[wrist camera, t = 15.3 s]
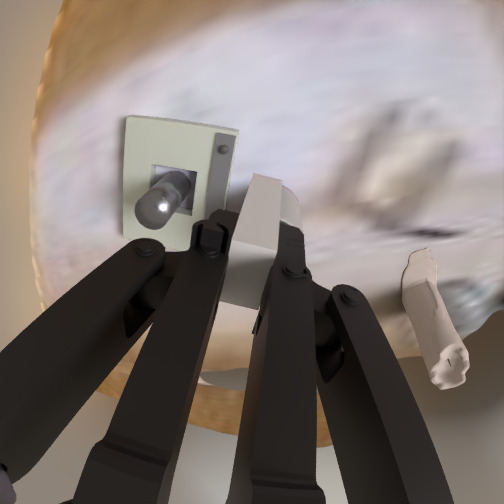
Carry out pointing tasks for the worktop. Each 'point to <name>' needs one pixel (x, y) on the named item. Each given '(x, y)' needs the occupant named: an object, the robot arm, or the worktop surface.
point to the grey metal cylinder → (162, 200)
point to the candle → (433, 322)
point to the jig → (178, 156)
